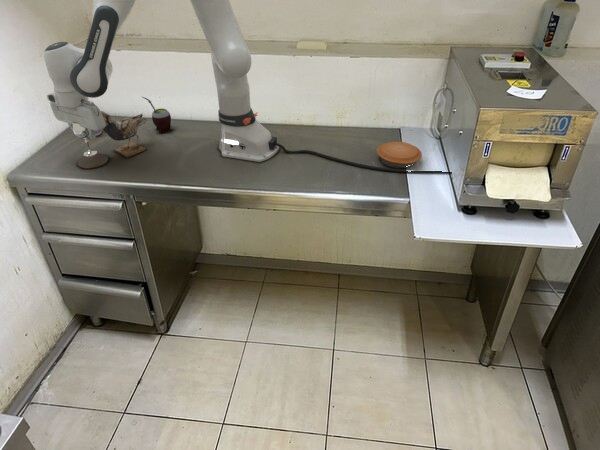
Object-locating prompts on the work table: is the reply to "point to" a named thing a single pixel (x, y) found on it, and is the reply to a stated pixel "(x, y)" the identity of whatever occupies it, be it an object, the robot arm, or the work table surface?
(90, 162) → the coaster
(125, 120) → the stuffed bird
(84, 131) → the wineglass
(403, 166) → the pie
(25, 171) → the work table surface
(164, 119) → the mate gourd
